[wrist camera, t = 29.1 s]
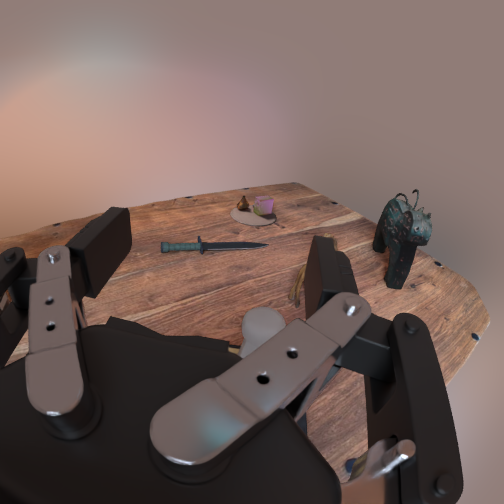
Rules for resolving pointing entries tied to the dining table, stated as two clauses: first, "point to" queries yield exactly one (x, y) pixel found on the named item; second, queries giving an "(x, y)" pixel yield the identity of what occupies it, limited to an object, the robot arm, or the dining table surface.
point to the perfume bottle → (255, 212)
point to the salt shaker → (259, 328)
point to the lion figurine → (301, 276)
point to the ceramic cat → (401, 237)
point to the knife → (209, 246)
